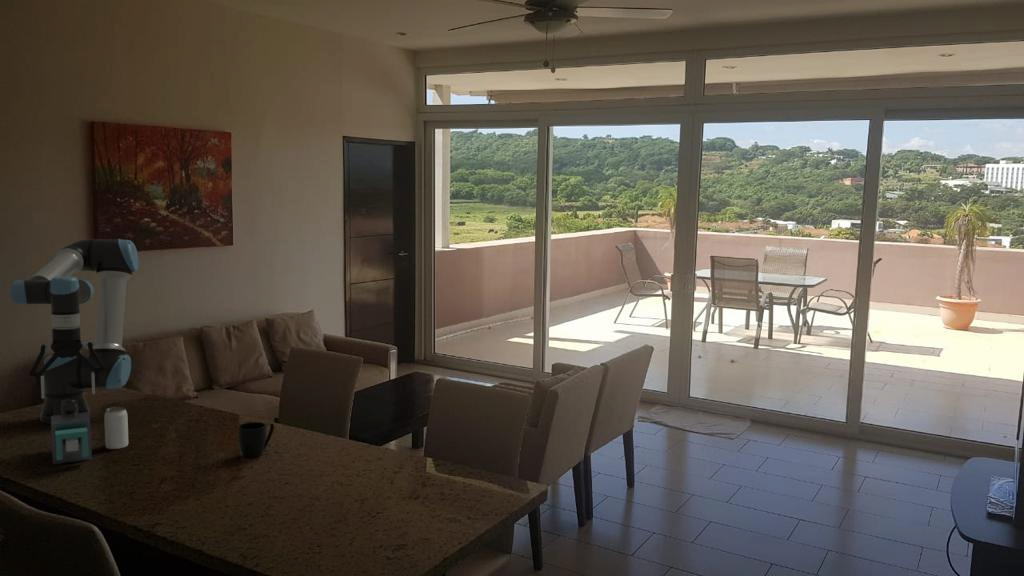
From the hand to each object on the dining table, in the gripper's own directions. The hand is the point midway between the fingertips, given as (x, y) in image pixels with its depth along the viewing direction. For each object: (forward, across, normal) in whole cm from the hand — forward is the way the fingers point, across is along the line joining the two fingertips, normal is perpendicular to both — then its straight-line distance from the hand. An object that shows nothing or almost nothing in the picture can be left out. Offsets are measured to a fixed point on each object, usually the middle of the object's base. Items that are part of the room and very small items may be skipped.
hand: (68, 395), depth 242 cm
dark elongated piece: (+11, 0, -10) cm, 15 cm away
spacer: (+14, 0, -18) cm, 23 cm away
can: (+17, +13, -4) cm, 21 cm away
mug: (+17, +50, -31) cm, 61 cm away
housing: (+17, 0, -10) cm, 19 cm away
